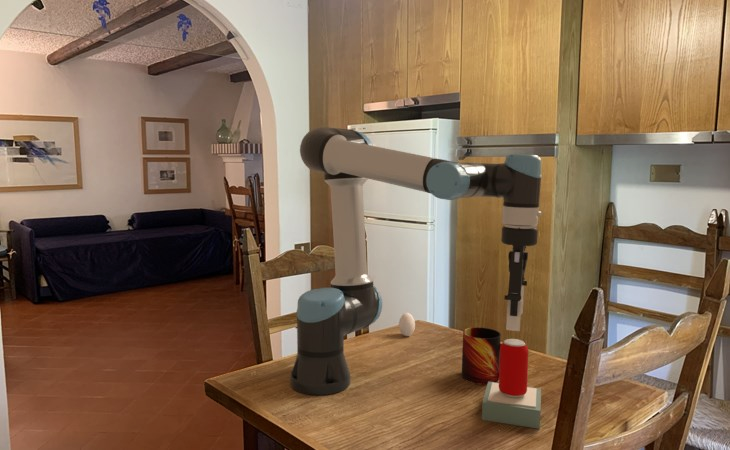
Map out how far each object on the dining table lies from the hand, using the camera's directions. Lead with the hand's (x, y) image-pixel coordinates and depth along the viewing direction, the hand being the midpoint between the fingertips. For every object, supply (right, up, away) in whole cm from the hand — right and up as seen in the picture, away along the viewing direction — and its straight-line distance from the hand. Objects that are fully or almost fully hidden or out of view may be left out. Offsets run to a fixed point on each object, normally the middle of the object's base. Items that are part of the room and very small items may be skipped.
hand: (514, 321), depth 117 cm
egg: (-20, -15, +56) cm, 61 cm away
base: (0, -21, +2) cm, 21 cm away
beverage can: (0, -17, +2) cm, 17 cm away
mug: (-1, -19, +22) cm, 29 cm away
